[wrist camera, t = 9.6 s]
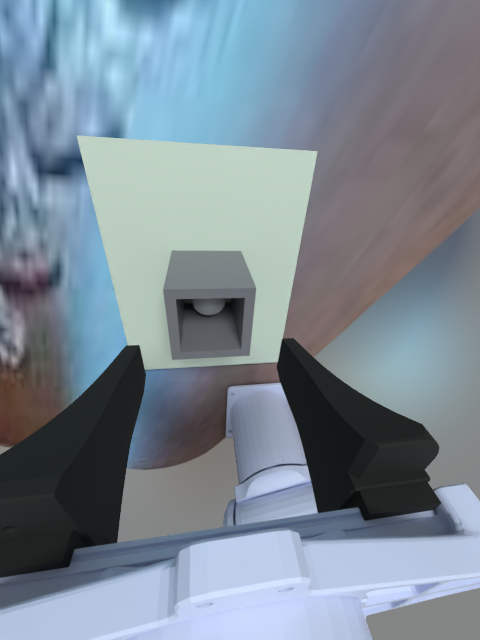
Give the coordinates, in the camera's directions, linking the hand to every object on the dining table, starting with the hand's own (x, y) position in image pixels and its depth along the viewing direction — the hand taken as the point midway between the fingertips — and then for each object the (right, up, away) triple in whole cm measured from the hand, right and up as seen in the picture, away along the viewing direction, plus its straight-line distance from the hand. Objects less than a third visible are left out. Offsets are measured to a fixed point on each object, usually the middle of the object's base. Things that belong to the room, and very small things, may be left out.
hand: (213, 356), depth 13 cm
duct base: (-1, +5, +8) cm, 10 cm away
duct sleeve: (-1, +5, +7) cm, 9 cm away
